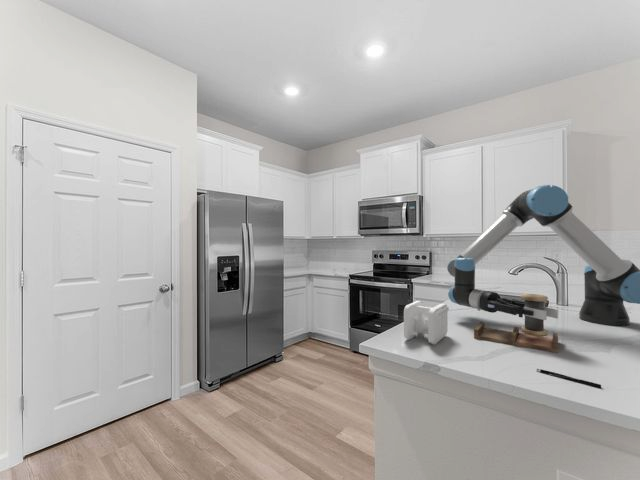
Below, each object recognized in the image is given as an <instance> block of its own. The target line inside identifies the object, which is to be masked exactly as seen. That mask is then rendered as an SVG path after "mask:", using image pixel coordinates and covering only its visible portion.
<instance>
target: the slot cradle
mask: <svg viewBox="0 0 640 480" xmlns="http://www.w3.org/2000/svg"><path fill="white" fill-rule="evenodd" d="M485 325H486V323H485V322H484V321H480V322H479V323H478V324H477V326H476V327H475V328H474V329H473V338H474V339H478V340H483V341H488V342H489V341H490V342H494V343H500V344H506V345H511V346H518V347H522V348H529V349H534V350H538V351H546V352H550V353H556V354H558V353H559V332H555V331H554V332H553V333H552V337H548V336H534V335H529V334H525V333H523V332H520V327H519V326H514V328H513V330H512V331H508V330H501V329H497V328H490V327H489V328H488V327H486V326H485Z"/></svg>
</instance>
